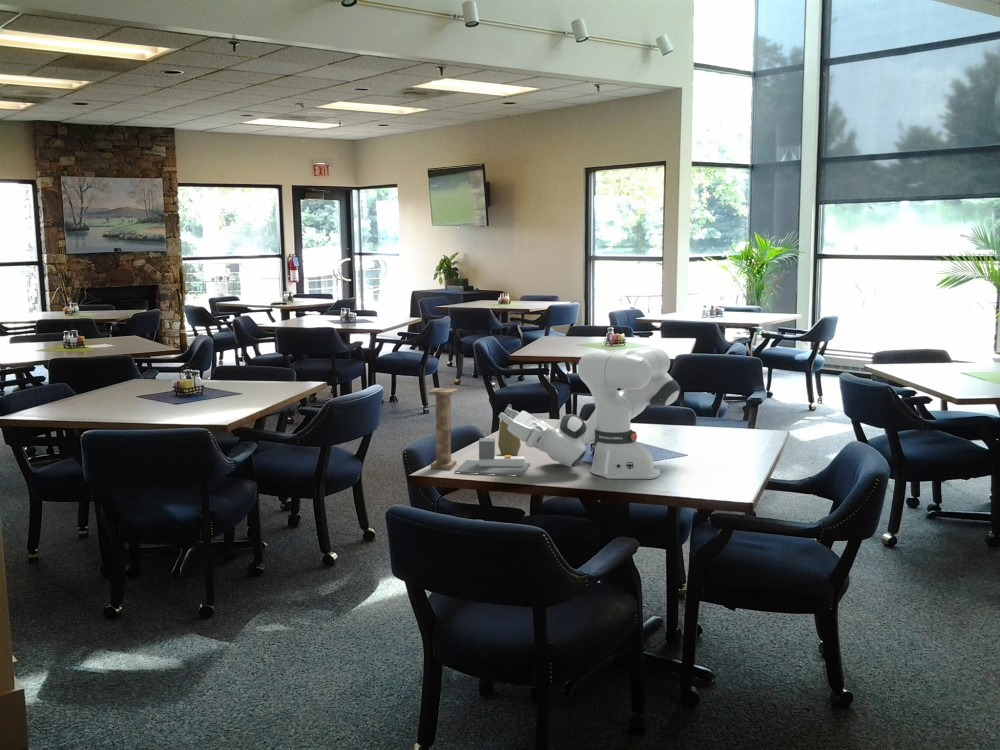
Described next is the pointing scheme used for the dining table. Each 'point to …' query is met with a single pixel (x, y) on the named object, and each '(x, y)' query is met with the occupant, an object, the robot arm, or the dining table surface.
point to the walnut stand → (443, 428)
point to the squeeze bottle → (508, 439)
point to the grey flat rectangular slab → (491, 469)
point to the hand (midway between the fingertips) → (502, 411)
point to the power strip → (490, 459)
